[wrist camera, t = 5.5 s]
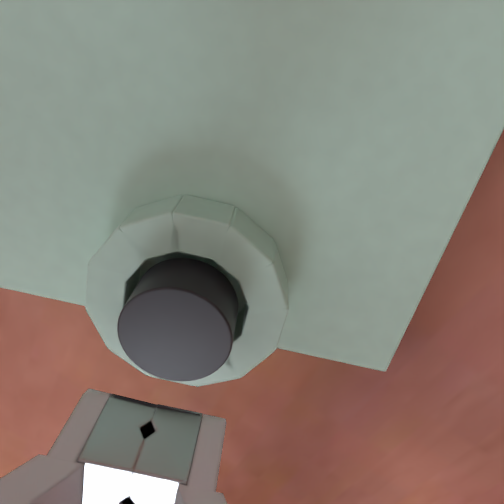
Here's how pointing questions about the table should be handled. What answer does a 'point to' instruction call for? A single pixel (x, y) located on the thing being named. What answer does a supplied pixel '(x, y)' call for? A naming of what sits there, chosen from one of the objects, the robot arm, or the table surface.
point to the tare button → (179, 320)
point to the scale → (246, 157)
